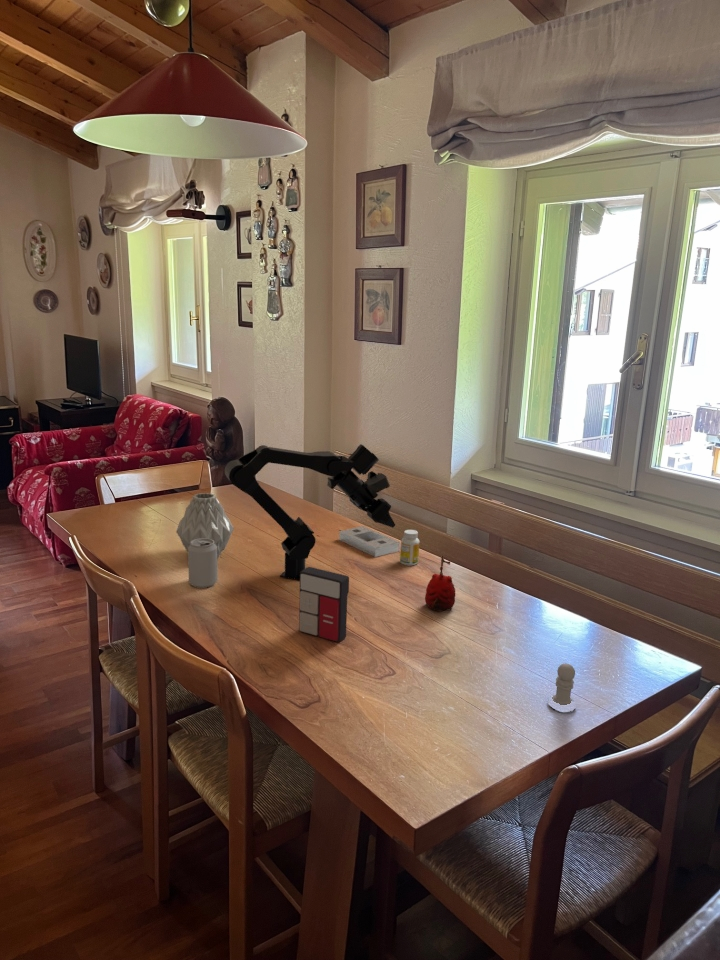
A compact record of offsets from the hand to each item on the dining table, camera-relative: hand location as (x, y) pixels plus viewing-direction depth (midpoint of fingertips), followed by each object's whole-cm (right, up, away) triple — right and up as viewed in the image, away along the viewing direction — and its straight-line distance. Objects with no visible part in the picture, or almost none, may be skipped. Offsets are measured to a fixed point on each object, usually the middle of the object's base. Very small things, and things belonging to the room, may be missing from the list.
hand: (387, 521), depth 203 cm
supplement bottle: (+7, -13, +6) cm, 16 cm away
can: (-50, -16, -14) cm, 54 cm away
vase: (-53, -11, +6) cm, 55 cm away
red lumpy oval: (+12, -21, -23) cm, 33 cm away
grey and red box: (-17, -24, -40) cm, 49 cm away
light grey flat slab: (-5, -9, +19) cm, 21 cm away
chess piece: (+31, -32, -65) cm, 79 cm away
